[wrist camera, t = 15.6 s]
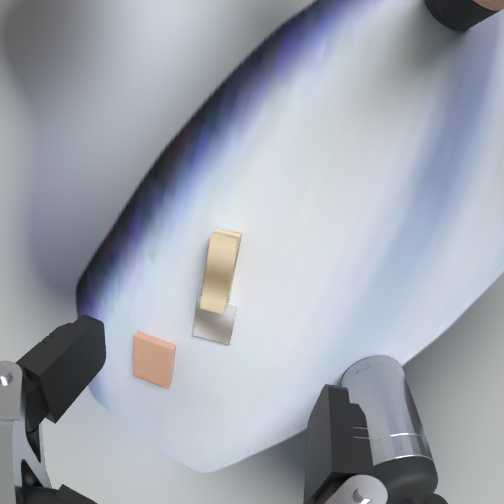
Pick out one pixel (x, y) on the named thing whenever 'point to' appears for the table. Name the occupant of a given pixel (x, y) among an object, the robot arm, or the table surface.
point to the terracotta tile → (153, 359)
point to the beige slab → (218, 288)
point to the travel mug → (463, 11)
